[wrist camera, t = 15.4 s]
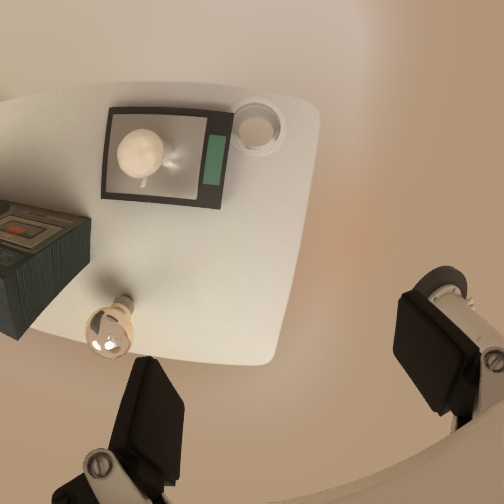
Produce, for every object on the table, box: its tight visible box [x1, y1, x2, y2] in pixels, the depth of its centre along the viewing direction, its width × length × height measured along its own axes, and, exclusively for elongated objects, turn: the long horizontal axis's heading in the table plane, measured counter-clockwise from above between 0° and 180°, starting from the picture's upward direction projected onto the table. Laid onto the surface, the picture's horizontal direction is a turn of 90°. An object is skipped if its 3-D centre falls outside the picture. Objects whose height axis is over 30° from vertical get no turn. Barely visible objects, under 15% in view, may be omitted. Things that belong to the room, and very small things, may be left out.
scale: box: [101, 107, 234, 210], centre depth 31 cm, size 16×12×3 cm
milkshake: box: [117, 129, 174, 189], centre depth 25 cm, size 4×5×10 cm
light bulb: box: [85, 296, 134, 359], centre depth 33 cm, size 7×7×12 cm
